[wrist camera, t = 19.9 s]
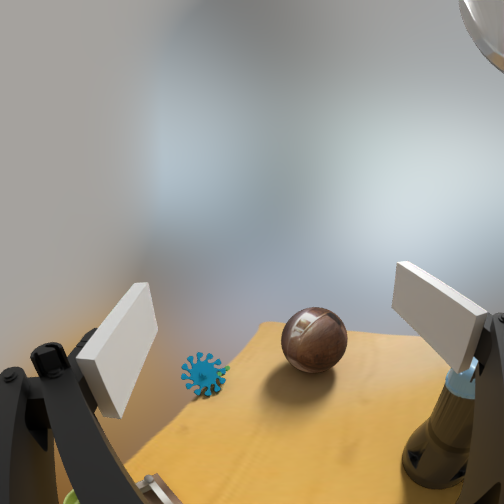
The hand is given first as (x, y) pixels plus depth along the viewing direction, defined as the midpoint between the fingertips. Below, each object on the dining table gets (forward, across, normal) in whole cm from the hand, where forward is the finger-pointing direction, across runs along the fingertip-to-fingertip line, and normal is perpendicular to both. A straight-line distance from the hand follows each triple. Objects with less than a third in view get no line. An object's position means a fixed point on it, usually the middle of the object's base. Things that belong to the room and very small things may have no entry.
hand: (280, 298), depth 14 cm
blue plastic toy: (+36, -12, -38) cm, 54 cm away
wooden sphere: (+40, +13, -38) cm, 57 cm away
